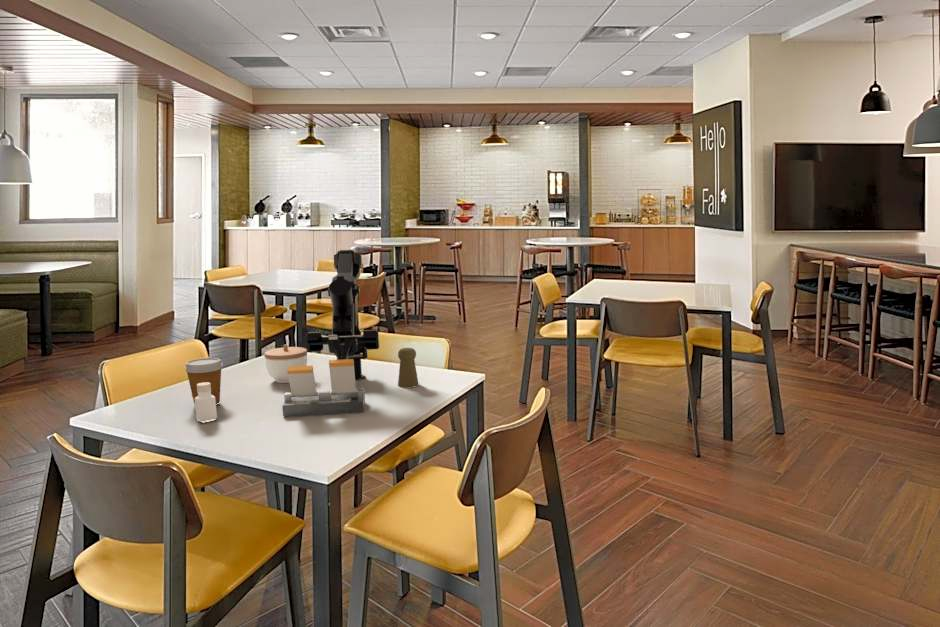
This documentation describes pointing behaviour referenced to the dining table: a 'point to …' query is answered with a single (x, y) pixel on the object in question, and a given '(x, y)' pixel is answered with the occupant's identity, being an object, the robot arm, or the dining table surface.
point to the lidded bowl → (284, 361)
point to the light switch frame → (324, 404)
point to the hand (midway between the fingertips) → (342, 368)
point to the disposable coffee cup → (205, 375)
